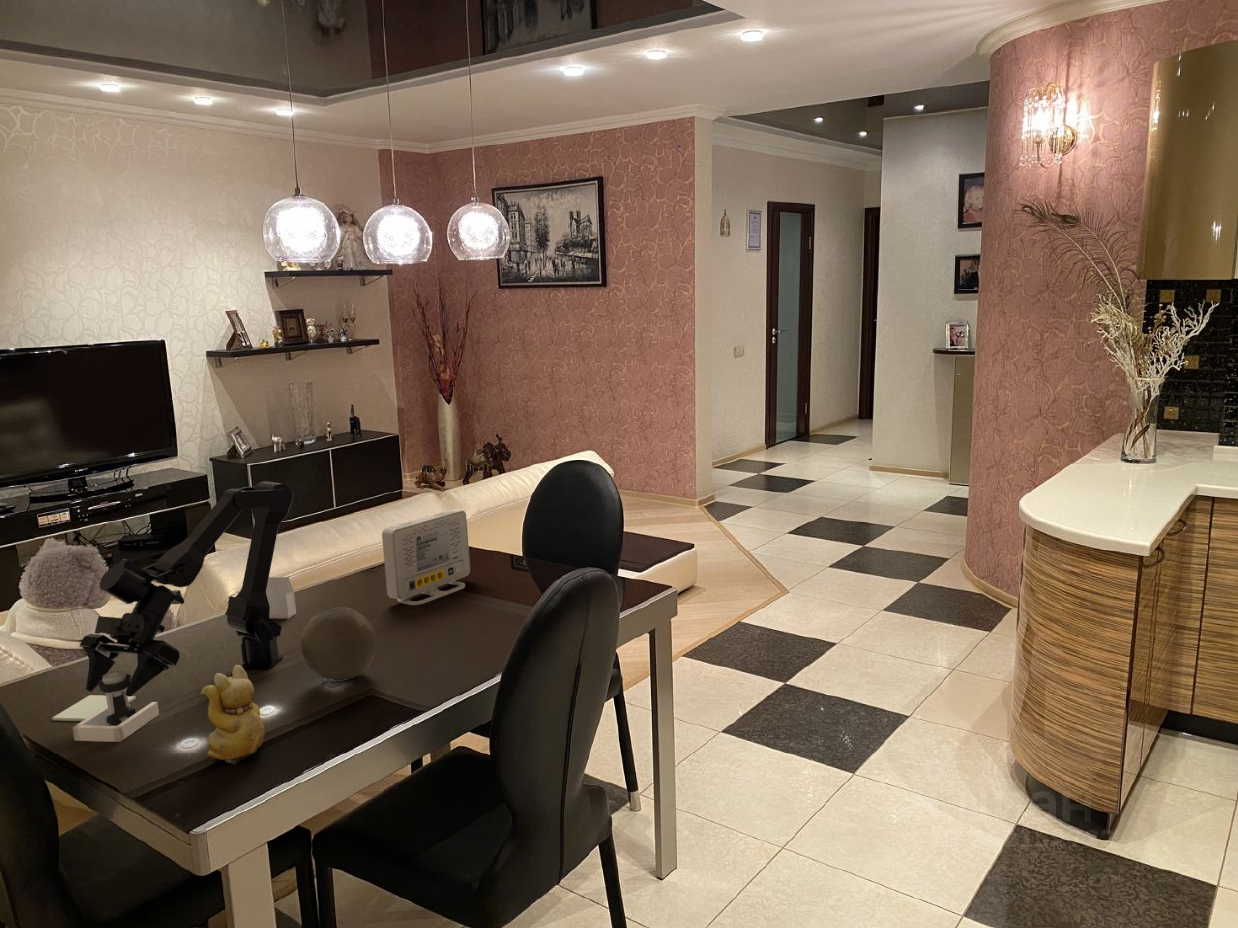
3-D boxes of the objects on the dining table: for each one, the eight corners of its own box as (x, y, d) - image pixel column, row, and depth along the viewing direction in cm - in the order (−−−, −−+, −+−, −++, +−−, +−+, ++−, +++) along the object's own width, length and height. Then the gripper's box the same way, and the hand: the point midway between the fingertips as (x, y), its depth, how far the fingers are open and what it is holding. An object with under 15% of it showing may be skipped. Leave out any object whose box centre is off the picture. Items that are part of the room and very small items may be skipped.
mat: (135, 698, 182) (135, 696, 181) (100, 721, 172) (100, 718, 172) (90, 697, 183) (89, 695, 183) (52, 720, 173) (52, 717, 173)
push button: (110, 737, 165) (102, 684, 163) (91, 732, 167) (83, 680, 166) (143, 721, 171) (136, 670, 169) (124, 717, 173) (117, 667, 171)
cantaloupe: (320, 667, 193) (313, 599, 191) (387, 665, 193) (380, 597, 190) (295, 696, 179) (287, 622, 177) (366, 694, 179) (359, 620, 176)
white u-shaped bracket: (159, 714, 174) (157, 701, 173) (120, 741, 163) (118, 728, 163) (115, 713, 175) (114, 700, 175) (74, 740, 164) (72, 727, 164)
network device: (455, 578, 253) (450, 507, 250) (478, 582, 248) (473, 510, 245) (382, 604, 233) (375, 528, 230) (405, 610, 228) (398, 532, 225)
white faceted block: (288, 618, 226) (284, 579, 224) (263, 618, 227) (258, 579, 225) (296, 613, 229) (292, 574, 228) (271, 613, 230) (266, 574, 229)
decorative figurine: (240, 738, 162) (230, 658, 160) (280, 743, 160) (271, 661, 157) (201, 765, 153) (190, 680, 151) (243, 770, 151) (232, 684, 148)
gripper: (80, 592, 172) (36, 671, 164) (159, 599, 166) (117, 680, 158) (120, 619, 181) (80, 694, 172) (197, 625, 175) (159, 704, 166)
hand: (107, 693), depth 167 cm, fingers open, 9 cm apart
